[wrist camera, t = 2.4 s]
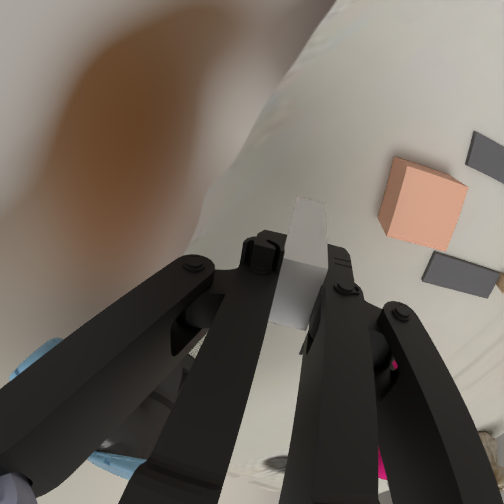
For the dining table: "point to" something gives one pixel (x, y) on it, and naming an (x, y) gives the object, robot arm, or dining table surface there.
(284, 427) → the dining table surface
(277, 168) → the dining table surface
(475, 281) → the mats
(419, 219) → the terracotta block
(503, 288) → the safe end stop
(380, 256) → the dining table surface
